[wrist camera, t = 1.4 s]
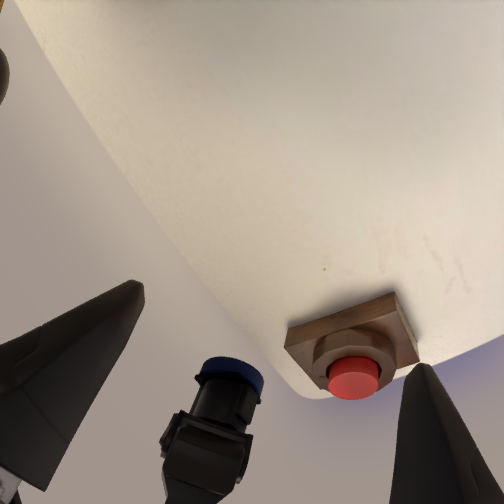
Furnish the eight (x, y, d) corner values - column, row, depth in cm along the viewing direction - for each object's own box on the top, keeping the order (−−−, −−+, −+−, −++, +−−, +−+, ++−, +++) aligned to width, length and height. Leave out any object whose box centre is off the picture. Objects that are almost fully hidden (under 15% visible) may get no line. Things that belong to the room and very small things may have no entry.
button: (341, 387, 26) (339, 404, 24) (321, 362, 24) (319, 379, 23) (384, 376, 24) (384, 393, 22) (368, 348, 22) (368, 367, 21)
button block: (322, 372, 31) (318, 405, 27) (287, 329, 28) (279, 364, 25) (417, 343, 26) (422, 378, 23) (394, 291, 23) (399, 327, 20)
